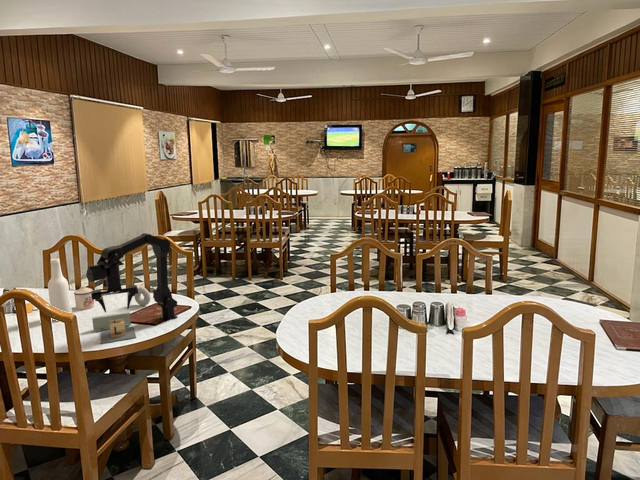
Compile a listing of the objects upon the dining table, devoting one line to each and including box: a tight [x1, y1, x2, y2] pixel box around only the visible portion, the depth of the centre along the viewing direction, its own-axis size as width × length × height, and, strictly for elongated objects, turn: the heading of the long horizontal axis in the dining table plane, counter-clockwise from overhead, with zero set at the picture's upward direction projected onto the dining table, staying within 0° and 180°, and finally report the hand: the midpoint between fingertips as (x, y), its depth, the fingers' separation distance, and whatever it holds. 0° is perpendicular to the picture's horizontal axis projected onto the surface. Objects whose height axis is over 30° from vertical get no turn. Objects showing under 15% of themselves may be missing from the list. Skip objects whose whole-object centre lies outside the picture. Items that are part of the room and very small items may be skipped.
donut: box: [133, 286, 151, 307], centre depth 252 cm, size 10×4×10 cm, turn 66°
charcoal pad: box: [100, 326, 137, 345], centre depth 213 cm, size 14×14×1 cm
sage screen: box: [91, 311, 132, 333], centre depth 222 cm, size 6×16×6 cm, turn 115°
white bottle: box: [47, 257, 73, 314], centre depth 234 cm, size 9×9×30 cm
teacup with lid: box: [73, 285, 95, 311], centre depth 252 cm, size 12×9×12 cm
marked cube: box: [109, 318, 126, 338], centre depth 212 cm, size 6×6×6 cm
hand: (116, 310), depth 211 cm, fingers open, 9 cm apart
